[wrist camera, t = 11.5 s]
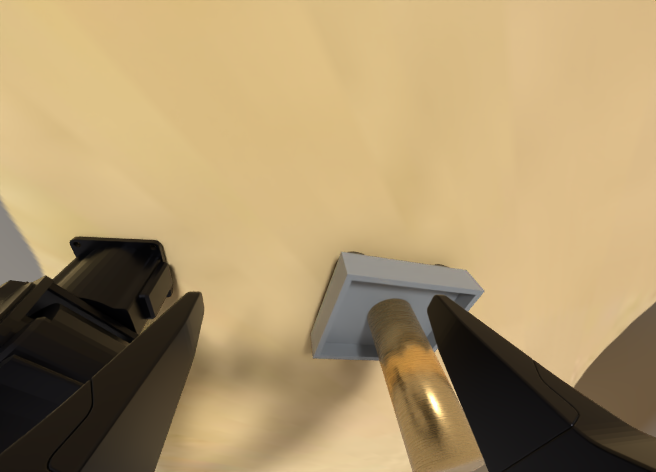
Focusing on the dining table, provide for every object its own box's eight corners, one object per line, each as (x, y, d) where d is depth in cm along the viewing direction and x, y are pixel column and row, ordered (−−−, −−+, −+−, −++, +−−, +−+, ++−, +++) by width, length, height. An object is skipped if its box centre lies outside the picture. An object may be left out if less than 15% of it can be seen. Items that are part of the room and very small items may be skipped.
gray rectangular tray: (309, 322, 31) (312, 358, 27) (338, 242, 25) (347, 274, 21) (411, 329, 34) (426, 362, 31) (458, 261, 28) (484, 291, 24)
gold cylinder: (370, 333, 28) (416, 486, 18) (363, 305, 26) (412, 467, 15) (413, 321, 28) (483, 470, 18) (409, 293, 25) (491, 448, 15)
